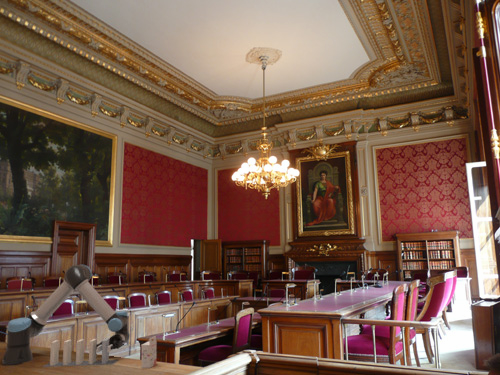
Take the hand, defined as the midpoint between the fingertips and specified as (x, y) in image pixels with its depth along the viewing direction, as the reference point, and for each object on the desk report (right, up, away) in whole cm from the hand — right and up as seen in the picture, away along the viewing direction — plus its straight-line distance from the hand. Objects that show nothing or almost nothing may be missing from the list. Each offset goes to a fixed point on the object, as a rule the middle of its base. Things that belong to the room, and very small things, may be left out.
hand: (102, 349), depth 226 cm
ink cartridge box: (+26, -7, -6) cm, 28 cm away
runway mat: (-13, -9, +3) cm, 16 cm away
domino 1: (-28, -9, +3) cm, 29 cm away
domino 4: (-7, -8, +3) cm, 11 cm away
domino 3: (-14, -9, +3) cm, 17 cm away
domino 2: (-21, -9, +3) cm, 23 cm away
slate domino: (0, -8, +3) cm, 9 cm away
